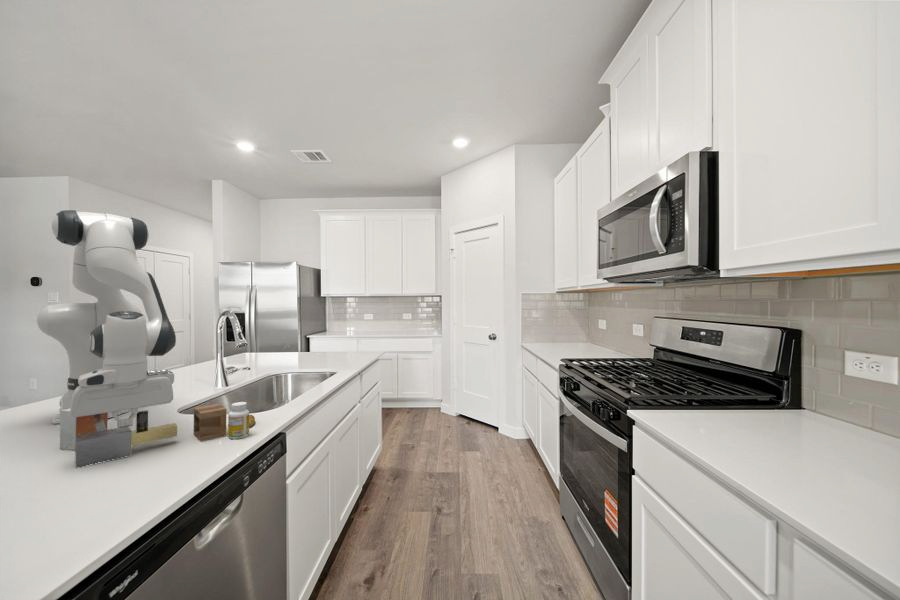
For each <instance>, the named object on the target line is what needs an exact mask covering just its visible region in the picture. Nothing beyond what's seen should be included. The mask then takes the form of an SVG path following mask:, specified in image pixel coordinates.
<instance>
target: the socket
mask: <svg viewBox="0 0 900 600" xmlns="http://www.w3.org/2000/svg"><path fill="white" fill-rule="evenodd" d="M193 436H195V438H197V440H198V441H199V442H204V441H209V440H214V439H218V438H222V437H226V436H227V408H226V407H224V405H221V403H214V404H213V403H212V404H208V405H202V406H197V407H193Z"/></svg>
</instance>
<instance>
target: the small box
mask: <svg viewBox="0 0 900 600" xmlns="http://www.w3.org/2000/svg"><path fill="white" fill-rule="evenodd" d="M59 414H60V423H59V446H58V447H59V449H60V450H67V449H68V450H67V451H76V435H81V434H87V433H92V432H98V431H104V430H108V420H109V418H108V413H102V414H95V415H89V416H82V417H73V416H72V415H71V414H70V409H65V410H61V411H60V410H59Z"/></svg>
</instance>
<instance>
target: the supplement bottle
mask: <svg viewBox="0 0 900 600" xmlns="http://www.w3.org/2000/svg"><path fill="white" fill-rule="evenodd" d="M230 406H231V407H230V409H231V410H230V412H229V413H228V414H227V415H228V417H227V418H228V421H227V422H228V423H227V424H228V425H227V427H228V428H227V429H228V433H227V436H228V439H230V440H238V439H243V438H245V437H248V436H249V435H250V428H249V415H250V411H249V410H248V409H247V407H248V403H247V401H239V402H234V403H231V405H230Z"/></svg>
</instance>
